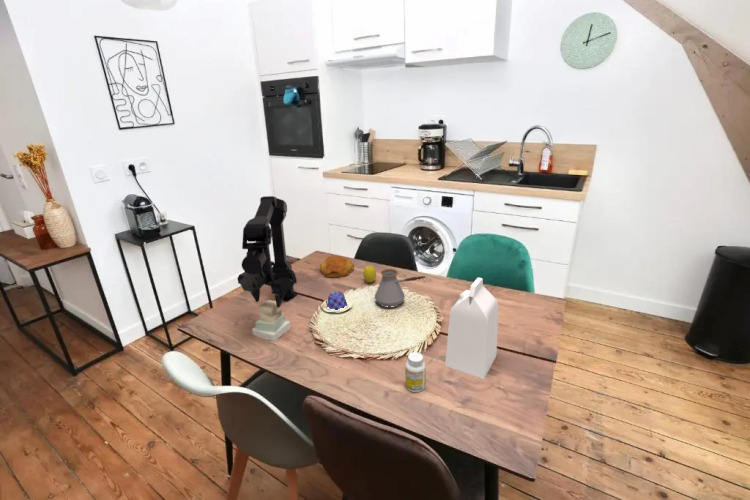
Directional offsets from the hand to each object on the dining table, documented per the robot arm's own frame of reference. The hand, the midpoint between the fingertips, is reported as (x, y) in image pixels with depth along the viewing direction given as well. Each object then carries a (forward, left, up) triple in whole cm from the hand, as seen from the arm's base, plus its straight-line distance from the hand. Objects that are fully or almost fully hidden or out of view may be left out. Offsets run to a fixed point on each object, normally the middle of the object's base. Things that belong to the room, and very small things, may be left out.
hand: (268, 304), depth 127 cm
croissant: (-51, -6, -11) cm, 52 cm away
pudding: (-24, +11, -11) cm, 29 cm away
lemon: (-47, +13, -11) cm, 50 cm away
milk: (-13, +65, -11) cm, 67 cm away
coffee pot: (-34, +33, -11) cm, 49 cm away
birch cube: (-1, 0, -6) cm, 6 cm away
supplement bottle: (+4, +54, -11) cm, 55 cm away
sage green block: (0, 0, -8) cm, 9 cm away
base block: (0, 0, -12) cm, 12 cm away
